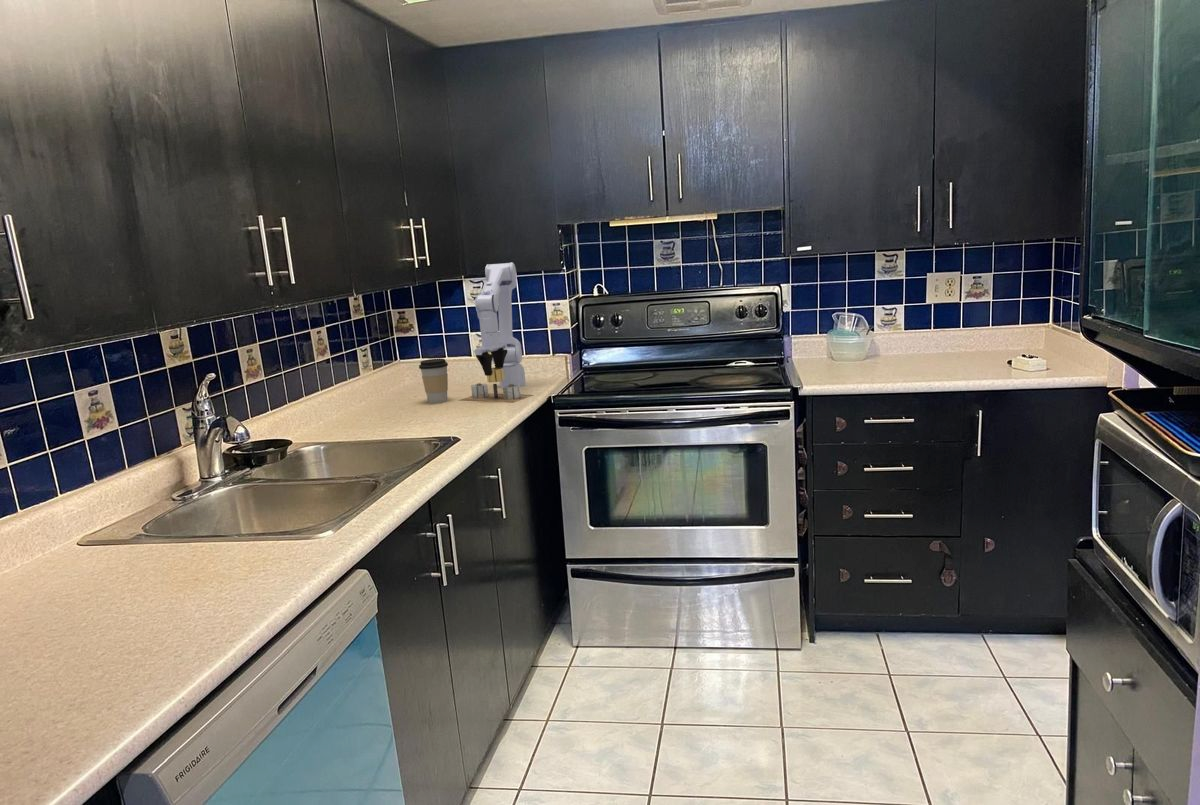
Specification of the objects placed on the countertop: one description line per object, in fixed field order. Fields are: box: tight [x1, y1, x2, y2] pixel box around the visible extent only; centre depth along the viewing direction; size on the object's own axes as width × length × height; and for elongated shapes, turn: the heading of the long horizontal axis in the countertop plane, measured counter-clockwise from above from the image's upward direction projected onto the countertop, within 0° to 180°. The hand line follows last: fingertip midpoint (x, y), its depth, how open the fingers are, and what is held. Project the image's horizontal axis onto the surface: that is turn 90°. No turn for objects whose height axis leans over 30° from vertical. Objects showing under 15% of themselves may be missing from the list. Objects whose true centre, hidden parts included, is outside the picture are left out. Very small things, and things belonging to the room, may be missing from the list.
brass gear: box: [486, 366, 504, 384], centre depth 264 cm, size 5×5×4 cm
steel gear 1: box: [470, 383, 489, 399], centre depth 269 cm, size 5×5×4 cm
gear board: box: [458, 382, 534, 404], centre depth 266 cm, size 12×22×6 cm, turn 61°
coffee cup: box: [418, 358, 449, 404], centre depth 267 cm, size 9×9×15 cm
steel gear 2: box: [502, 384, 522, 400], centre depth 262 cm, size 5×5×4 cm
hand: (493, 373), depth 264 cm, fingers closed on brass gear, 5 cm apart
